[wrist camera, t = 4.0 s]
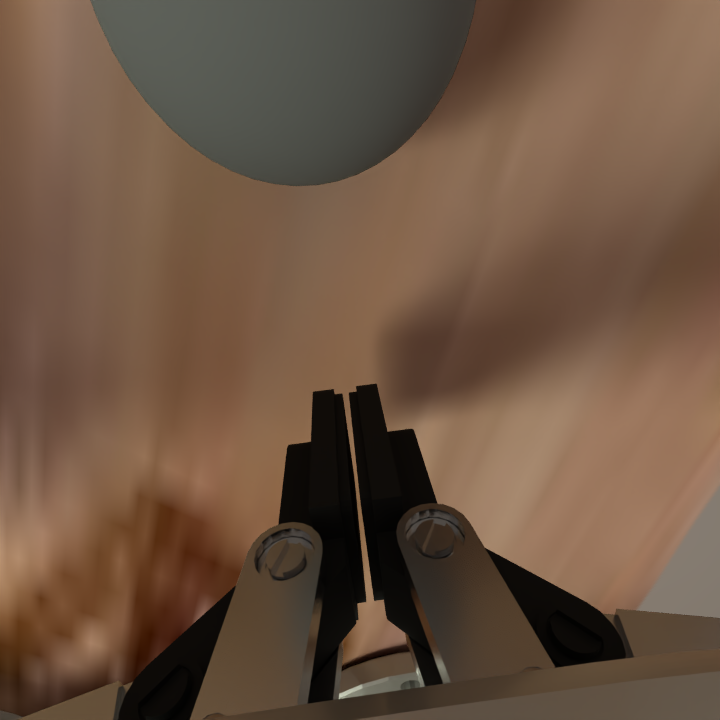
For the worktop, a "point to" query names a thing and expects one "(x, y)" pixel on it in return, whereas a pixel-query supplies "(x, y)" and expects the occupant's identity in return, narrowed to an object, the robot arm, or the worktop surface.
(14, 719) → the white hollowed block
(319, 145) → the grey-green ball
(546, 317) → the worktop surface
